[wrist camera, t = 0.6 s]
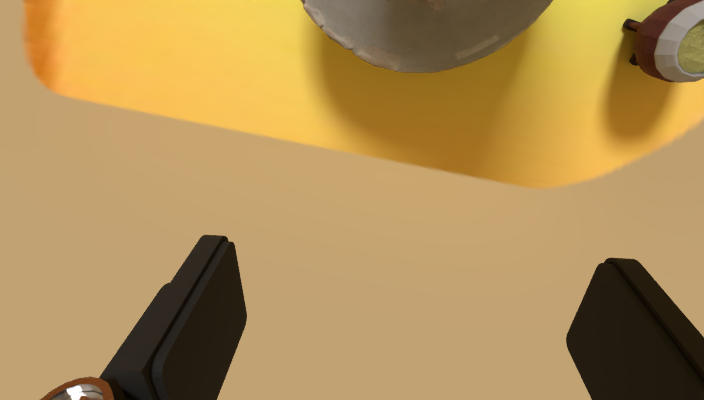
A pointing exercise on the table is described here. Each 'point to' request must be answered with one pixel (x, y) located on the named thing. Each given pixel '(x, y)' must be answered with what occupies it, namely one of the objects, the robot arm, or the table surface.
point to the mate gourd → (671, 41)
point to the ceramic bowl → (423, 29)
